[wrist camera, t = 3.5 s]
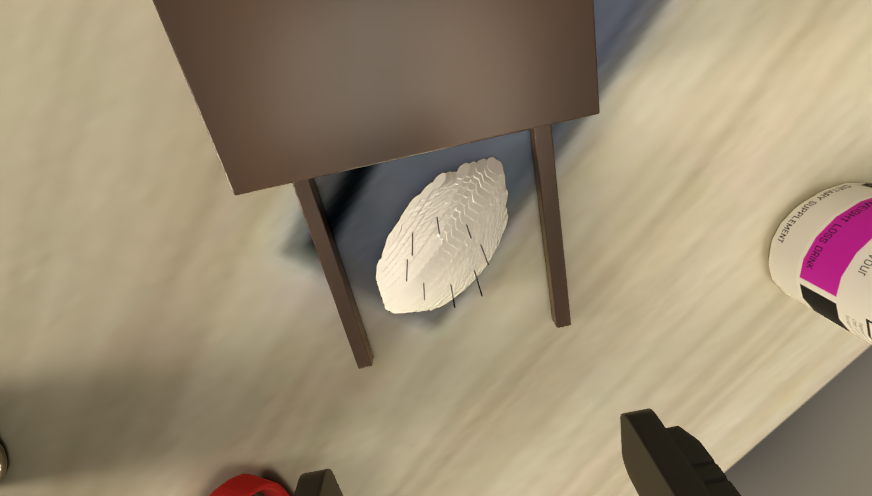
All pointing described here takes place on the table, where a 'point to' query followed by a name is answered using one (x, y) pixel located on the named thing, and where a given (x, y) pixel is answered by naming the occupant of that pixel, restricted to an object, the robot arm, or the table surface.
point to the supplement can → (829, 256)
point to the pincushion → (444, 238)
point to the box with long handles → (382, 95)
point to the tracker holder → (249, 487)
